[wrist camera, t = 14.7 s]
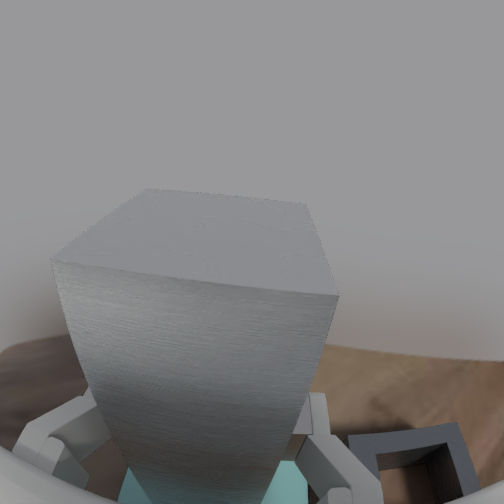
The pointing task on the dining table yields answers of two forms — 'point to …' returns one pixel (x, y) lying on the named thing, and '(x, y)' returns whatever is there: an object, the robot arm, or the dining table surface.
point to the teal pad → (275, 500)
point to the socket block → (421, 457)
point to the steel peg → (199, 336)
